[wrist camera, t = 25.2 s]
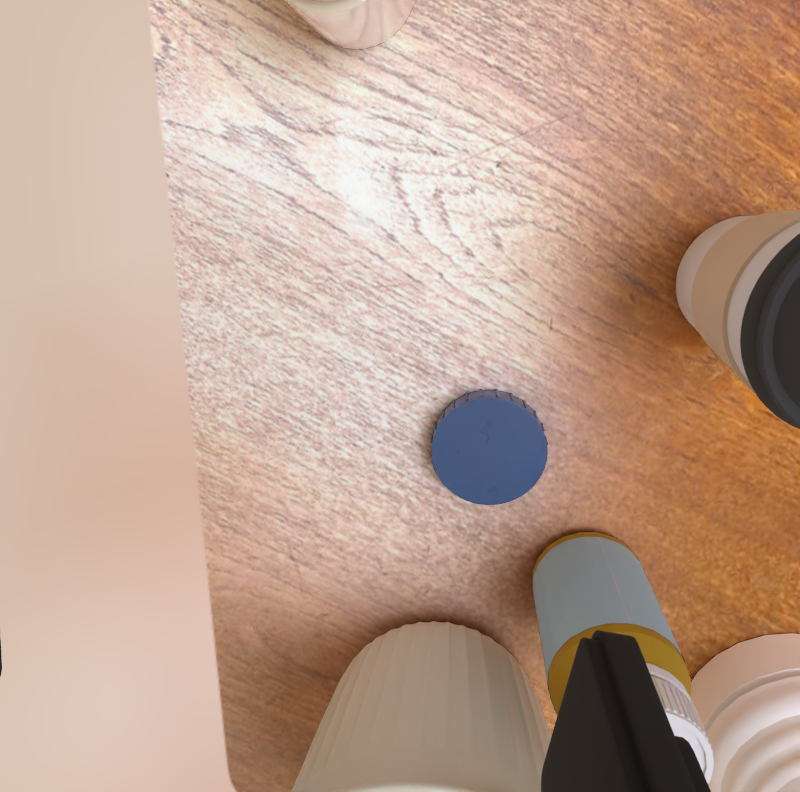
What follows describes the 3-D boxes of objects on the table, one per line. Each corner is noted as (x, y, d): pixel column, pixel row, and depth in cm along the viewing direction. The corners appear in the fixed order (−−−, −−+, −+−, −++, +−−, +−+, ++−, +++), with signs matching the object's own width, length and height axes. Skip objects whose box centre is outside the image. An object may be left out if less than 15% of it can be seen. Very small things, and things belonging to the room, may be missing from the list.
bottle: (644, 527, 42) (733, 704, 28) (636, 621, 44) (716, 830, 30) (532, 525, 43) (563, 697, 29) (530, 618, 45) (558, 821, 31)
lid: (525, 505, 42) (528, 518, 41) (419, 477, 43) (417, 489, 41) (560, 405, 40) (564, 414, 39) (448, 376, 40) (447, 384, 39)
